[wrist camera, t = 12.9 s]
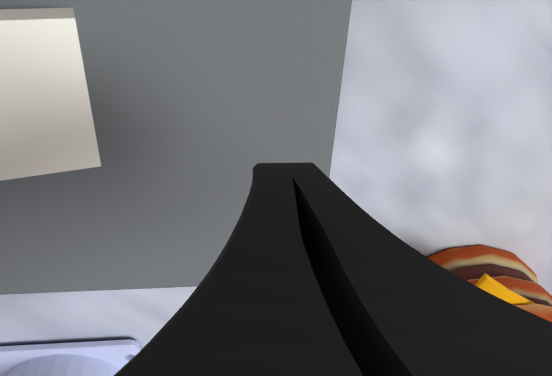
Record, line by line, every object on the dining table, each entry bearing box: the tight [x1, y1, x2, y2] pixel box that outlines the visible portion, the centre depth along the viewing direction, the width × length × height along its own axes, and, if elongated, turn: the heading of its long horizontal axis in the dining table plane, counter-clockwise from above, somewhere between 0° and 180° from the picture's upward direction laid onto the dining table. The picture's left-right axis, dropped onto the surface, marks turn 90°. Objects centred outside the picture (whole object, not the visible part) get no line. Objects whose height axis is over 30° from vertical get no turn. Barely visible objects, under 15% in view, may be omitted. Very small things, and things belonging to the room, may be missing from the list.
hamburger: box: [427, 245, 552, 322], centre depth 22 cm, size 9×10×7 cm
